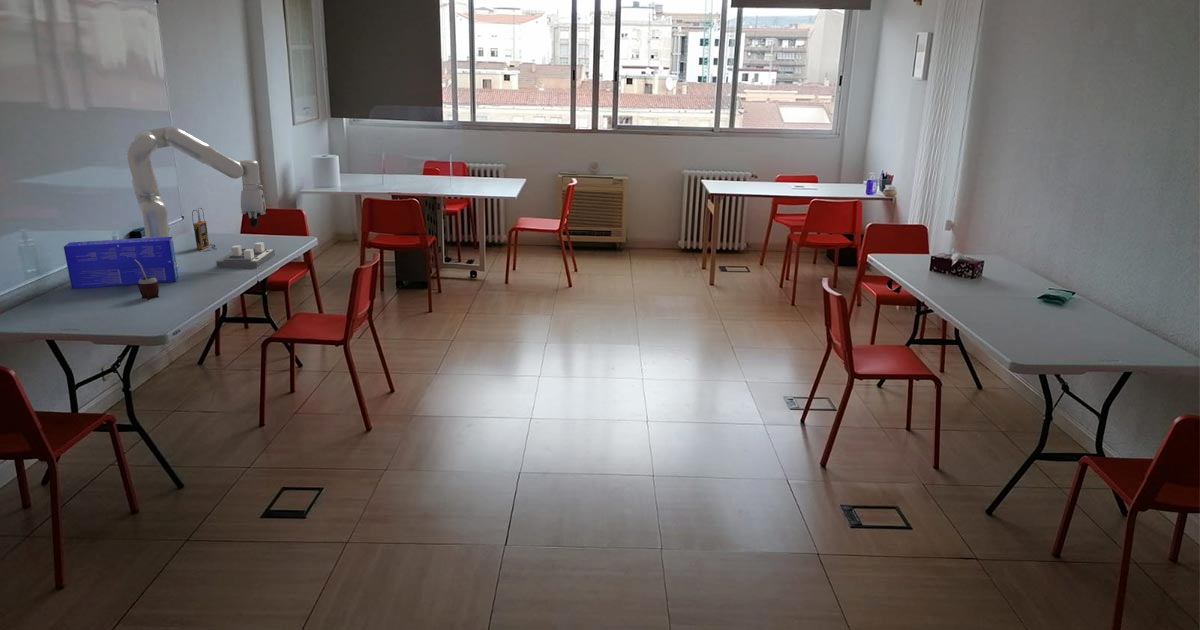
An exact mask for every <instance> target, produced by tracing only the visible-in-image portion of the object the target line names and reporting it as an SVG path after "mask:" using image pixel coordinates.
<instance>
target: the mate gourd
mask: <svg viewBox="0 0 1200 630" xmlns="http://www.w3.org/2000/svg"><path fill="white" fill-rule="evenodd" d="M135 261H136V262H137V263H138V264H139V266H140V268H141V270H142V272H143V275H144V277H143V278H140V280H139V282H138V285H137V287H138V289H139V293H140V295H141V299H147V301H149V300H152V298H153V299H154V298H155V299H156V298H157V299H158V298H159V297H160V296H159V293H160V292H159V291H160V287H159V286H160V285H159V283H158V281H157V279H156V278H155V277H146V275H145V273H144V271H143V268H142V265H141V264H140V263H139V262H138V261H137V260H136V259H135Z"/></svg>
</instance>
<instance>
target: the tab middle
mask: <svg viewBox="0 0 1200 630" xmlns="http://www.w3.org/2000/svg"><path fill="white" fill-rule="evenodd" d="M242 248H243V247H242V244H241V245H239V244H238V245H232V247H231V248H230V249H231V252H232V255H241V254H242Z"/></svg>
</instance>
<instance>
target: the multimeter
mask: <svg viewBox="0 0 1200 630" xmlns="http://www.w3.org/2000/svg"><path fill="white" fill-rule="evenodd" d="M200 209H201V210H202V213H203V214H202V216H203V218H205V214H204V209H203V208H202V207H200ZM194 211H195V212H197V213H198V214H197V218H198V220H197V222H195V223H194V222H192V225H193V231H194V236H195V243H196V250H198V252H200V250H204V249H205V250H204V252H207V251H206V250H207V249H206V248H209V247H208V246H210V245H209V244H210V241H209V235H208V228H207V227H208V226H207V221H206V220H205V219H203V220H202V219H201V216H200V210H199V209H193V210H192V213H191V218H192V221H194V217H193V216H194V214H193V213H194ZM213 246H214V245H211V248H210V249H208V250H209V251H212V250H213V249H215V248H216V250H217V249H218V248H217V247H216V246H214V247H213Z"/></svg>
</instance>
